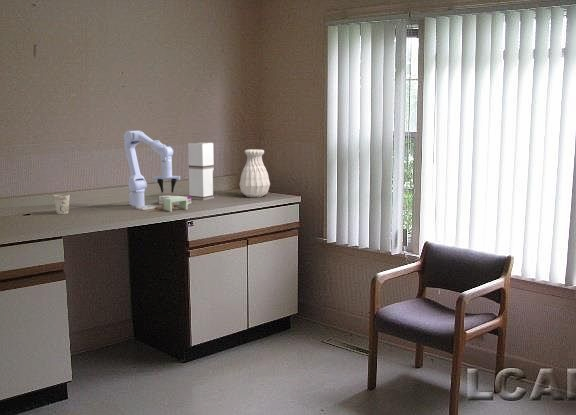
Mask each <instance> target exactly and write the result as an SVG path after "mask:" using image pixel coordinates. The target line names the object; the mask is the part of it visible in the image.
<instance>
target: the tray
mask: <svg viewBox="0 0 576 415" xmlns="http://www.w3.org/2000/svg"><path fill="white" fill-rule="evenodd" d="M155 206H156V205H150V204H148V205H147V204H145V206H135V208H136V209H135V210H137V209H140V210H139V211H141V210H151V209H155V208H156V207H155Z"/></svg>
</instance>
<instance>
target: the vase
mask: <svg viewBox="0 0 576 415" xmlns="http://www.w3.org/2000/svg"><path fill="white" fill-rule="evenodd" d="M244 154H245V155H246V156H247V157H246V158H247V159H246V163H245V165H244V166H243V170H242V171H241V175H240V181H239V188H240V191H241V193H242V194H243V195H244V196H245V197H247V198H263V197H264V196H265V195H267V194H268V193H269V190H270V186H271V182H270V178H269V177H270V176H269V173H268V171H267V168H266V166H265V164H264V162H263V155H264V154H265V150H264V149H256V148H255V149H245V150H244Z"/></svg>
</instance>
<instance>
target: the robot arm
mask: <svg viewBox="0 0 576 415" xmlns="http://www.w3.org/2000/svg"><path fill="white" fill-rule="evenodd" d="M123 142H124V150H125V155H126V160H127V163H128V167H129V168H128V169H129V174H130V176H129V178H128V186H127V187H128V189H129V191H130V193H129V195H128V202H129V206H132V207H136V206H145V205H146V202H145V201H146V200H145V199H146V198H145V192H146V189H147V187H148V182H147V181H146V179H145V176H143V175H142V174H141V171H140V165H139V161H138V157H137V152H136V146H137V145H138V144H140V142H143V143H144V144H147V146H150V149H151V150H153V151H154V152H155V153H157V154H158V156H159V158H160V161H161V162H160V163H161V175H154V176H153V180H154V181H157V183H158V186H159V187H160V192H161V193H164V181H165V180H167V181H169V180H170V185H171V186H170V187H171V193H172V194H173V193H174V192H175V191H174V189H175V186H176V184H177V180H178V181H180V180H181V175H173V165H172V164H173V161H172V159H173V155H175V154H174V152H175V151H174V148H173V147H172V146H167V145H166V144H165V143H164V144H163V143H162V142H161V141H160V140H159V139H157V140H153V139H152V138H151V137H149V136H148V135H147V134H145V132H143V131H142V130H127V131H125V133H124V135H123Z"/></svg>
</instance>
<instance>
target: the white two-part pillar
mask: <svg viewBox="0 0 576 415" xmlns="http://www.w3.org/2000/svg"><path fill="white" fill-rule="evenodd" d="M187 147H188V148H187V149H188V150H187V151H188V152H187V153H188V154H187V155H188V190H189V193H188V196H191V200H199V201H206V200H207V201H208V200H212V199H215V195H214V178H213V176H214V173H213V172H214V170H215V169H214V168H215V167H214V166H215V163H214V162H215V161H214V153H215V152H214V142H201V141H200V142H197V143H193V142H188V144H187Z"/></svg>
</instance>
